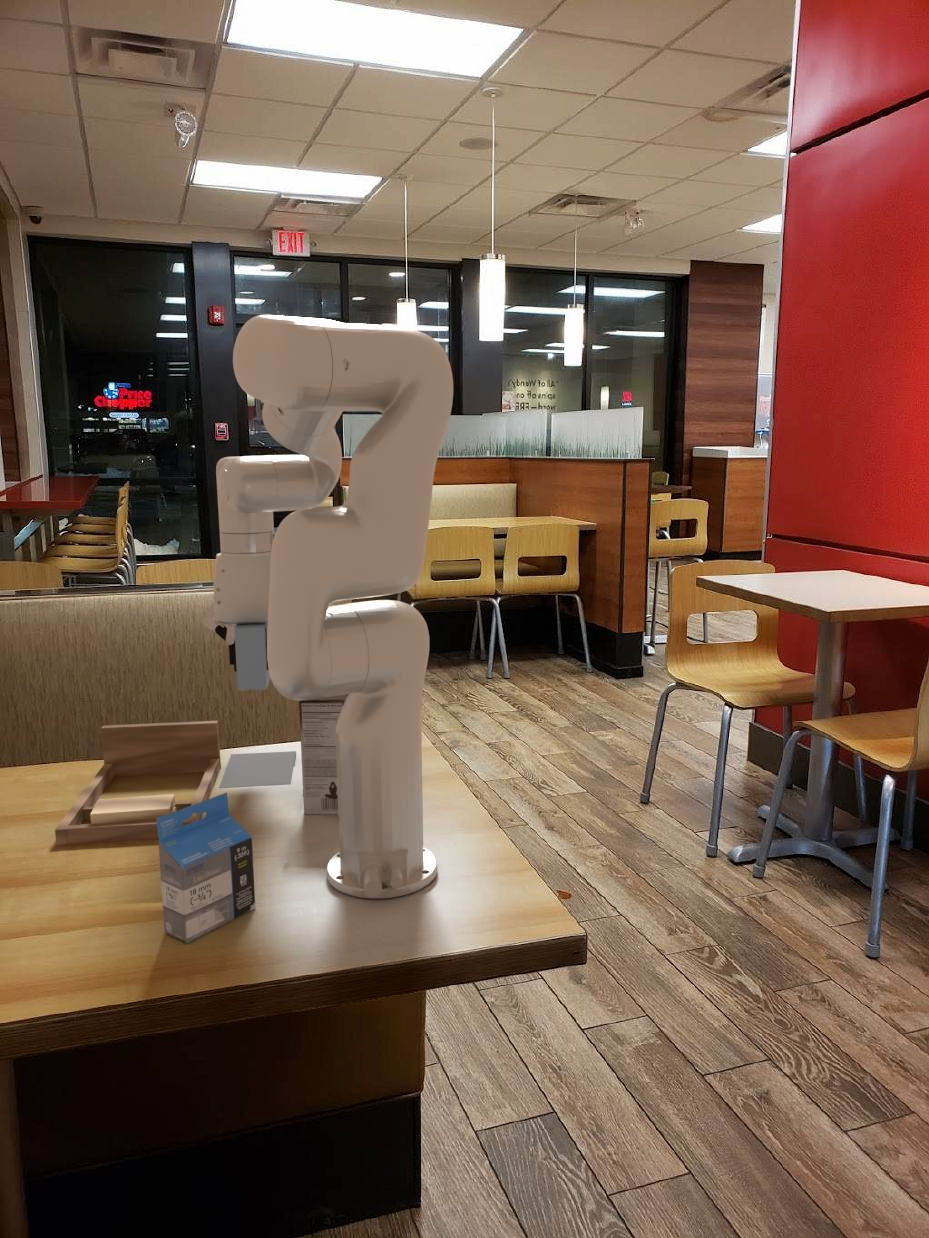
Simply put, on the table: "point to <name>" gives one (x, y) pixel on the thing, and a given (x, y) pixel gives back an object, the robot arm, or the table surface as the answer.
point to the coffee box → (320, 753)
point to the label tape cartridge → (204, 869)
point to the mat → (259, 769)
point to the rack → (144, 755)
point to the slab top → (132, 809)
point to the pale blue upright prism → (251, 656)
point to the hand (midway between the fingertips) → (254, 667)
